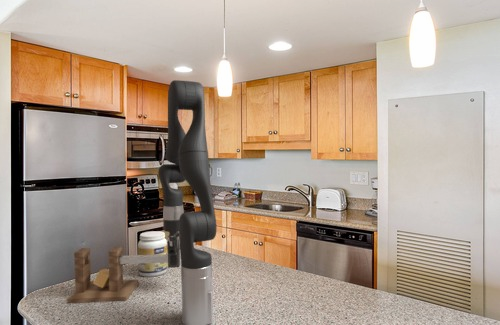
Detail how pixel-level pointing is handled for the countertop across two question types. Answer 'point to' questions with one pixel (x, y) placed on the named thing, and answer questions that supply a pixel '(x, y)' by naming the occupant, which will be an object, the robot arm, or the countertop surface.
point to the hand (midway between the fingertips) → (174, 263)
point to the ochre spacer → (102, 278)
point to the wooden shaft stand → (94, 293)
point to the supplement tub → (152, 252)
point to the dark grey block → (150, 259)
